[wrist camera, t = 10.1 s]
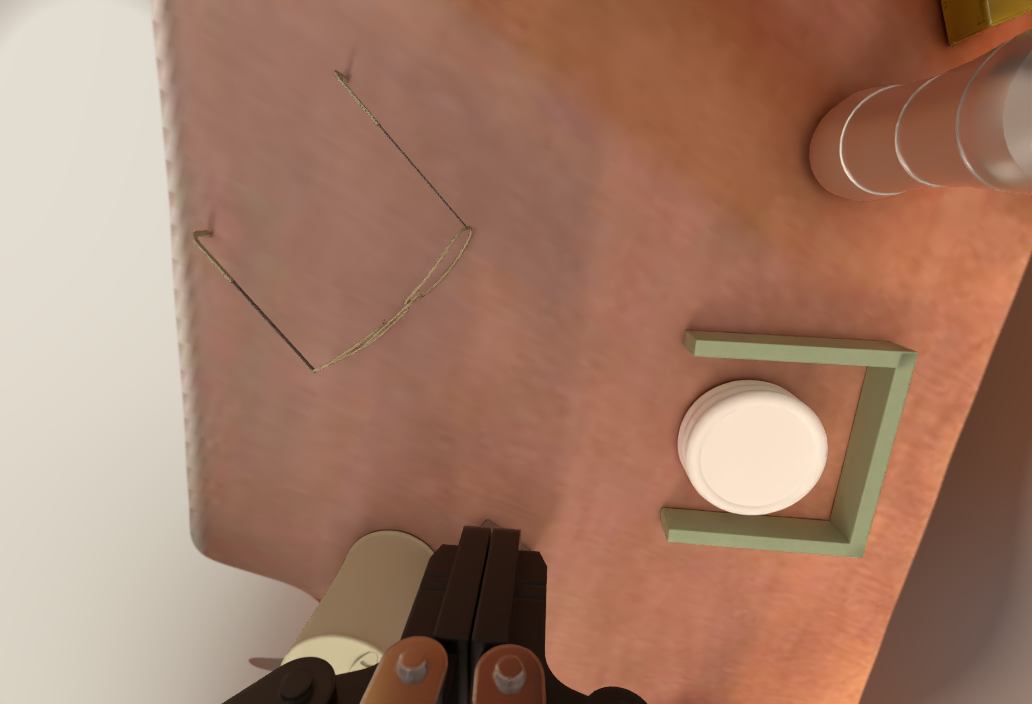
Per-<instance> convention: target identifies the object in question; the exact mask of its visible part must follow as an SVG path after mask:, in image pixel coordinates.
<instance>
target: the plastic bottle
mask: <svg viewBox="0 0 1032 704" xmlns="http://www.w3.org/2000/svg"><path fill="white" fill-rule="evenodd" d="M809 160H810V166H811V169H812V172H813V174H814V177H815V178H816V179H817V181H818V182H819V184H820V185H821V186H822V187H823V188H824V189H826V190H827V191H829V192H830V193H832V194H834V195H837V196H840V197H843V198H846V199H850V200H854V201H863V202H864V201H875V200H879V199H883V198H887V197H891V196H895V195H898V194H901V193H903V192H906V191H912V190H917V189H923V188H929V187H973V188H980V189H988V190H995V191H1003V192H1010V193H1018V194H1029V195H1032V29H1030V30H1028V31H1026V32H1024V33H1022V34H1020V35H1018V36H1016V37H1014V38H1013V39H1011V40H1009V41H1007V42H1005V43H1004V44H1002V45H1000V46H998V47H996V48H994V49H993V50H991V51H989V52H987V53H985V54H984V55H982V56H980V57H978V58H976V59H974V60H973V61H971V62H968V63H966V64H964V65H961V66H959V67H956V68H954V69H952V70H949V71H947V72H945V73H943V74H940V75H937V76H935V77H933V78H929V79H925V80H921V81H916V82H912V83H907V84H895V85H885V86H879V87H872V88H868V89H865V90H861V91H858V92H856V93H854V94H853V95H851V96H849V97H847V98H846V99H844V100H843V101H842V102H840V103H839V104H838V105H836V106H835V107H834V108H832V109H831V110H830V111H829V112H828V113H827V114H826V115H825V116H824V117H823V118H822V119H821V121H820V122H819V124H818V126H817V127H816V129H815V131H814V134H813V136H812V139H811V143H810V148H809Z"/></svg>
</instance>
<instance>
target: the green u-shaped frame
mask: <svg viewBox="0 0 1032 704" xmlns="http://www.w3.org/2000/svg"><path fill="white" fill-rule="evenodd" d="M684 346H685V347H686V348H687V349H688V350H689V351H690V352H691V353H692V354H693V355H694V356H700V357H717V358H734V359H751V360H769V361H786V362H803V363H820V364H837V365H854V366H867V370H866V374H865V378H864V382H863V387H862V391H861V395H860V399H859V403H858V407H857V411H856V415H855V419H854V423H853V427H852V431H851V436H850V440H849V444H848V448H847V452H846V456H845V460H844V464H843V468H842V472H841V476H840V481H839V485H838V489H837V493H836V497H835V501H834V505H833V509H832V513H831V517H830V521H825V520H812V519H800V518H787V517H774V516H762V515H742V514H736V513H723V512H711V511H698V510H685V509H673V508H662V509H661V516H660V521H661V524H662V527H663V530H664V533H665V536H666V539H667V541H668V542H675V543H687V544H699V545H711V546H723V547H735V548H747V549H759V550H771V551H783V552H795V553H807V554H819V555H831V556H843V557H855V558H862V557H863V554H864V550H865V547H866V543H867V539H868V535H869V532H870V528H871V524H872V521H873V517H874V513H875V510H876V506H877V502H878V499H879V495H880V491H881V488H882V484H883V480H884V477H885V473H886V469H887V466H888V462H889V458H890V455H891V451H892V447H893V444H894V440H895V436H896V433H897V429H898V425H899V422H900V418H901V414H902V411H903V407H904V403H905V399H906V396H907V392H908V388H909V385H910V381H911V377H912V374H913V370H914V367H915V363H916V360H917V356H918V352H916V351H913V350H911V349H908V348H905V347H903V346H900V345H898V344H895V343H892V342H890V341H872V340H854V339H836V338H818V337H800V336H782V335H763V334H745V333H727V332H709V331H691V330H686V332H685V340H684Z"/></svg>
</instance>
